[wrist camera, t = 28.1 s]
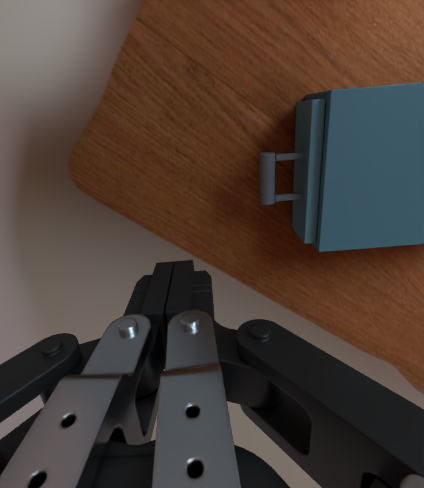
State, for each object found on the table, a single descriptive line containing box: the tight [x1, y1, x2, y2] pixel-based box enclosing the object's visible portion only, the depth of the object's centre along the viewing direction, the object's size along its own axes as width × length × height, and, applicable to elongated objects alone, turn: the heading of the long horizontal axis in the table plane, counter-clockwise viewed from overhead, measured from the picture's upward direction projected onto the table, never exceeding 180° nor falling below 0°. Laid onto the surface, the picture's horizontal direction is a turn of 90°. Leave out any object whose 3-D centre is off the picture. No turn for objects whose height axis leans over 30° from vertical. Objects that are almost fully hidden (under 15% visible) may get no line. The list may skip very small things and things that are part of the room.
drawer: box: [259, 99, 326, 244], centre depth 30 cm, size 23×14×5 cm, turn 94°
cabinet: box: [306, 82, 424, 252], centre depth 30 cm, size 20×15×7 cm
